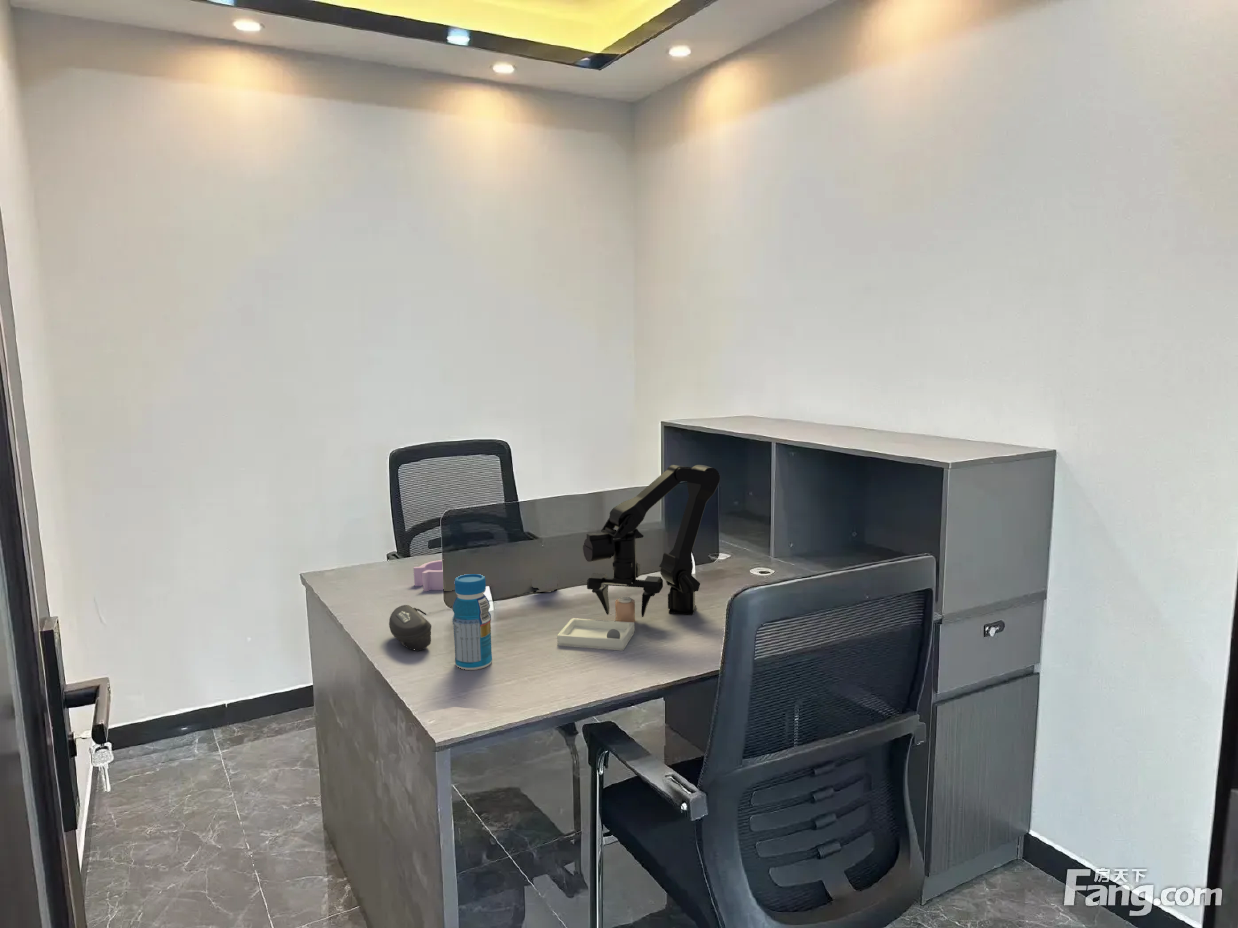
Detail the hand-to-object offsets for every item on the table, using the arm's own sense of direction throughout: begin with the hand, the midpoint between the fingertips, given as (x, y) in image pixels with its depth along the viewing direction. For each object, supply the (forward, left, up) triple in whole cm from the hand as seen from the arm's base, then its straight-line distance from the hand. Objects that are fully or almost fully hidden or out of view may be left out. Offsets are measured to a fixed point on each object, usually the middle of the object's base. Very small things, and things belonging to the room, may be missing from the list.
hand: (625, 615), depth 201 cm
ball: (-1, +16, -1) cm, 16 cm away
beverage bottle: (+27, +33, -2) cm, 43 cm away
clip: (+58, -19, -2) cm, 61 cm away
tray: (+4, +13, -2) cm, 14 cm away
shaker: (0, 0, -2) cm, 2 cm away
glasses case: (+46, +24, -2) cm, 52 cm away
